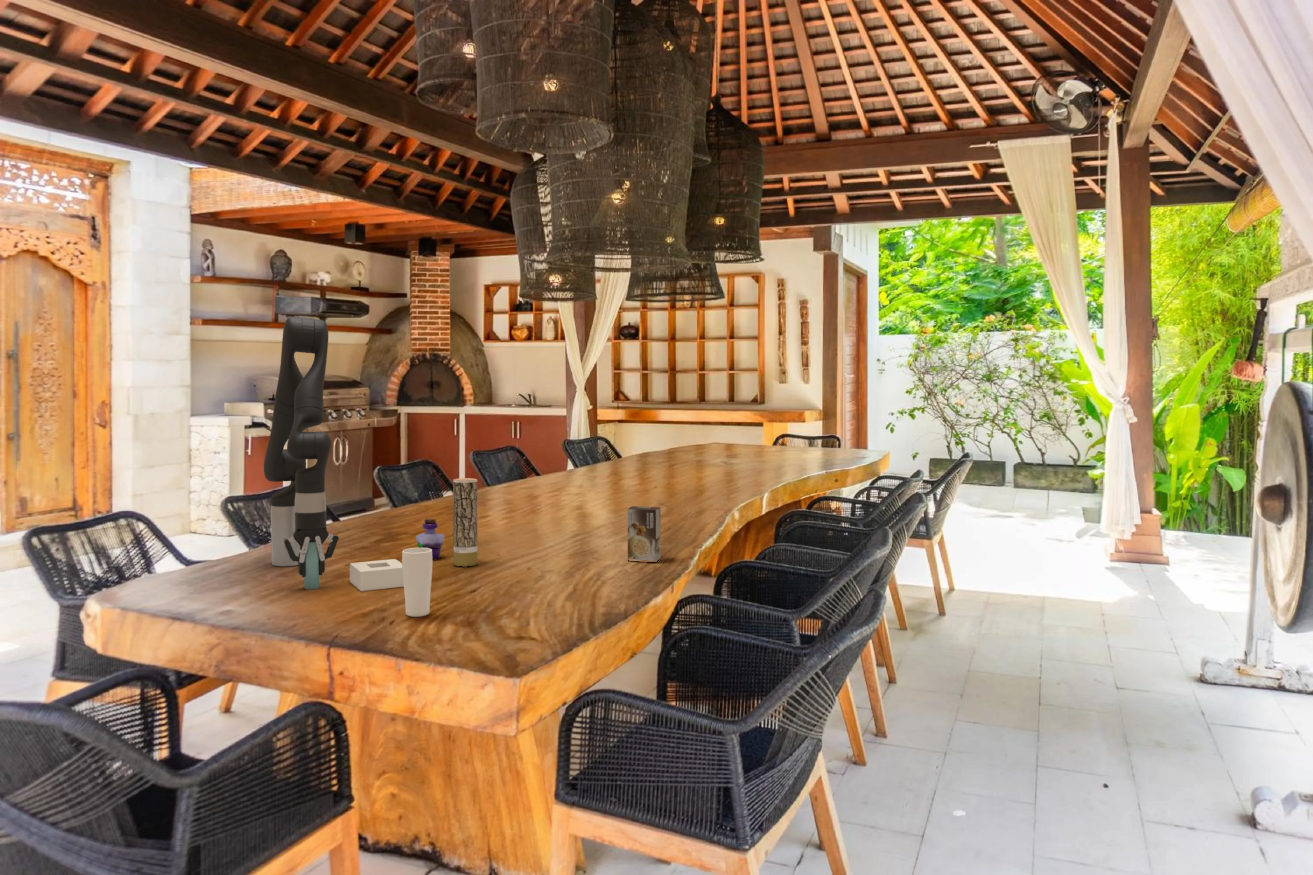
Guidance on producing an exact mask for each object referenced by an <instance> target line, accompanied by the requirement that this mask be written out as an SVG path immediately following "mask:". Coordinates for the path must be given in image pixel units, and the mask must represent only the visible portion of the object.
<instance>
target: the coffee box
mask: <svg viewBox="0 0 1313 875" xmlns="http://www.w3.org/2000/svg"><path fill="white" fill-rule="evenodd" d="M626 513H627V560H628V559H635V560H647V561H657V560H658V559H659V558H661V507H660V506H659V507H657V506H643V505H642V506H640V505H639V506H638V505H632V506H630V507H629V508H627V512H626Z"/></svg>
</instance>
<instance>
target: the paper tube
mask: <svg viewBox="0 0 1313 875" xmlns="http://www.w3.org/2000/svg"><path fill="white" fill-rule="evenodd" d="M452 485H453V486H452V488H453V489H452V490H453V492H452V495H453V497H452V501H453V502H452V504H453V506H452V509H453V511H452V512H453V514H452V515H453V517H452V518H453V526H452V527H453V531H452V532H453V533H452V534H453V537H452V538H453V564H454V566H456V567H459V566H462V567H461V568H467V566H470V567H474V566H476V565H477V564H478V479H477V478H469V477H464V478H463V477H462V478H454V479H453V480H452Z"/></svg>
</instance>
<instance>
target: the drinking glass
mask: <svg viewBox="0 0 1313 875" xmlns="http://www.w3.org/2000/svg"><path fill="white" fill-rule="evenodd" d="M401 553H402V554H401V563H402V573H403V583H404V587H403V593H404V600H405V601H404V604H405V615H406V616H408V617H414V618H420V617H425V616H428V615H429V614H430V611H431V610H430V606H431V604H430V603H431V589H432V578H433V560H432V549H429V548H418V547H410V548H404V549H403V550H402V552H401Z"/></svg>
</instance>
